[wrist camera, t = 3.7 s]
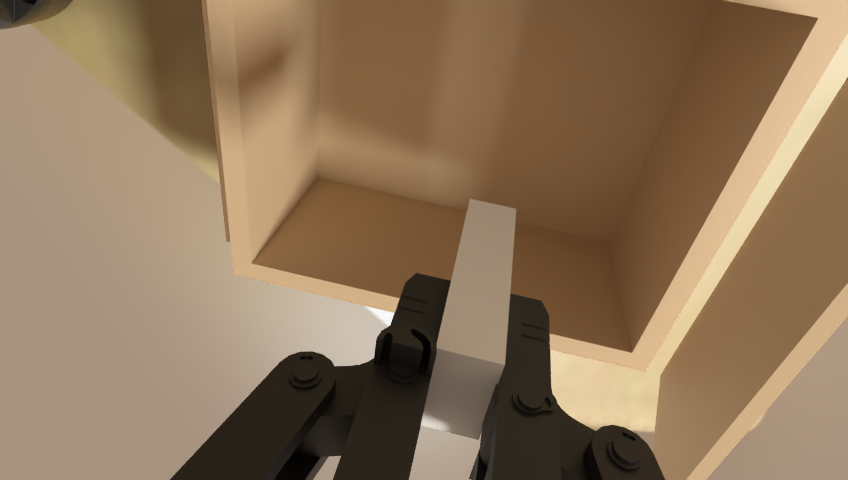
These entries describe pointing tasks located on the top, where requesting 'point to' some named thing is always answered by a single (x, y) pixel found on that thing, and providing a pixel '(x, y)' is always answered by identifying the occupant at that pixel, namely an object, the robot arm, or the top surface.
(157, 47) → the top surface
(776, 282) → the flap
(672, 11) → the open wooden box
